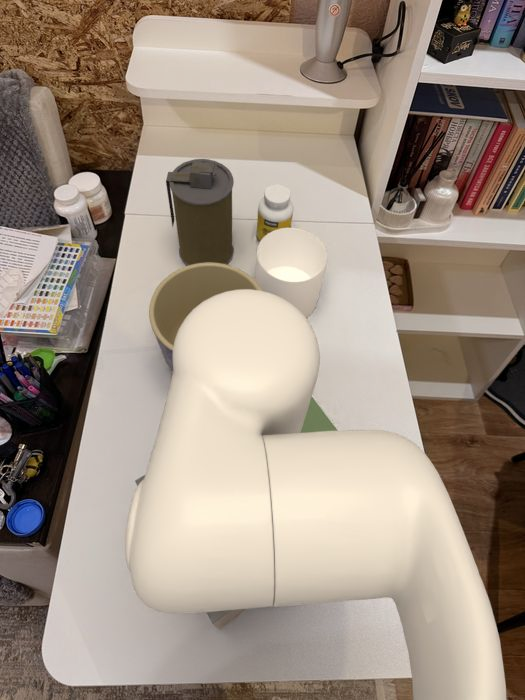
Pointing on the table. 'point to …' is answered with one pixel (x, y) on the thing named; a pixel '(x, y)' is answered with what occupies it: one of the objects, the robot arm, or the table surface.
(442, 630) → the robot arm
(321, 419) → the mat
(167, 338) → the planter
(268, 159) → the table surface
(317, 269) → the cup
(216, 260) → the canister
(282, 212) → the pill bottle
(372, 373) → the table surface
